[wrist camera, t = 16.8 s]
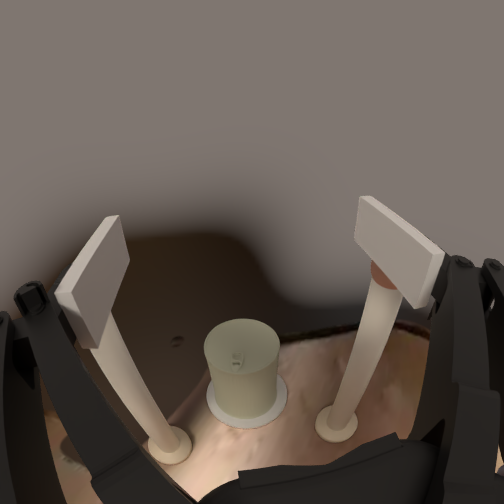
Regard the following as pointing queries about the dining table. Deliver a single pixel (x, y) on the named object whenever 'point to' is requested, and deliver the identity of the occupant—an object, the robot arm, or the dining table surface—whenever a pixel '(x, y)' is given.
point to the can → (243, 367)
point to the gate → (328, 420)
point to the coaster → (254, 422)
